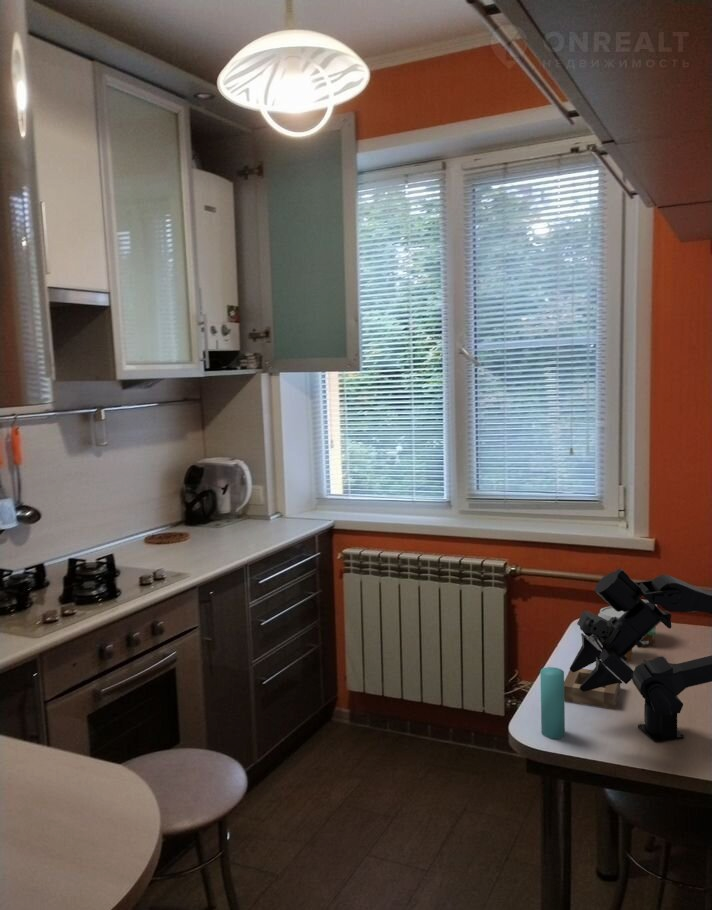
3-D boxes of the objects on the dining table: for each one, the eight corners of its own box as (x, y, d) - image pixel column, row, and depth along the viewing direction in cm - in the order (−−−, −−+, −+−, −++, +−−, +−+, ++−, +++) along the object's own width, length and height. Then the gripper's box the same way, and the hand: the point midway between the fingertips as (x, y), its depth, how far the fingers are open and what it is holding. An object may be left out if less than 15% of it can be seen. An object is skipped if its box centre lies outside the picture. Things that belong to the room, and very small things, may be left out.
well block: (620, 688, 168) (620, 673, 167) (614, 709, 158) (614, 693, 157) (571, 681, 172) (571, 667, 172) (562, 700, 163) (562, 685, 162)
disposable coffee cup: (620, 648, 191) (620, 603, 190) (646, 661, 182) (646, 614, 181) (590, 654, 188) (590, 609, 187) (615, 667, 179) (615, 620, 178)
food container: (663, 650, 189) (663, 612, 187) (638, 649, 190) (638, 612, 189) (654, 633, 201) (654, 598, 199) (630, 632, 202) (630, 597, 201)
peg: (568, 737, 147) (568, 675, 145) (547, 740, 146) (546, 677, 145) (558, 726, 151) (557, 666, 150) (537, 729, 150) (536, 668, 149)
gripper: (591, 585, 154) (539, 636, 156) (616, 614, 135) (555, 672, 138) (630, 621, 154) (577, 671, 156) (659, 655, 136) (598, 711, 138)
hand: (576, 680), depth 147 cm, fingers open, 9 cm apart
